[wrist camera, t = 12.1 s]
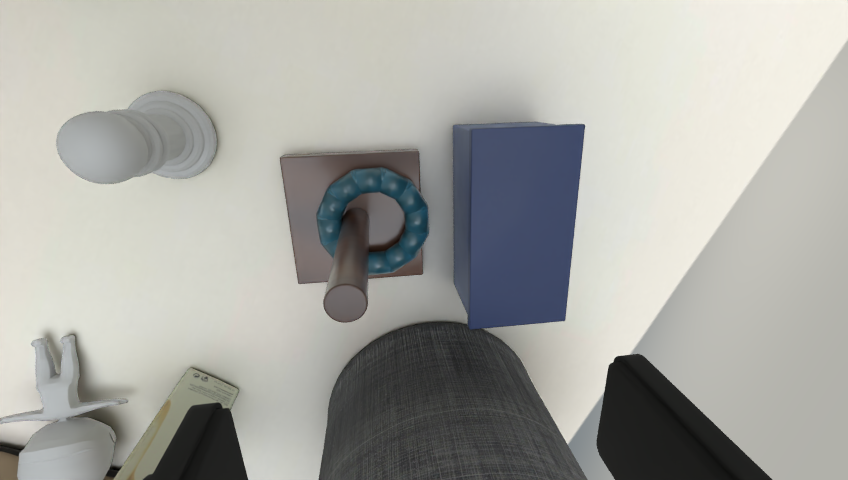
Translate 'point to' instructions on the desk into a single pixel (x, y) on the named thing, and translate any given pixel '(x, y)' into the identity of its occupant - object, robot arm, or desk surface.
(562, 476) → the planter
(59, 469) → the figurine
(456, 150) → the box
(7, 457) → the file folder
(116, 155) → the chess piece
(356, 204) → the peg
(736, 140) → the desk surface
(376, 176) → the ring
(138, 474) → the cosmetic box
